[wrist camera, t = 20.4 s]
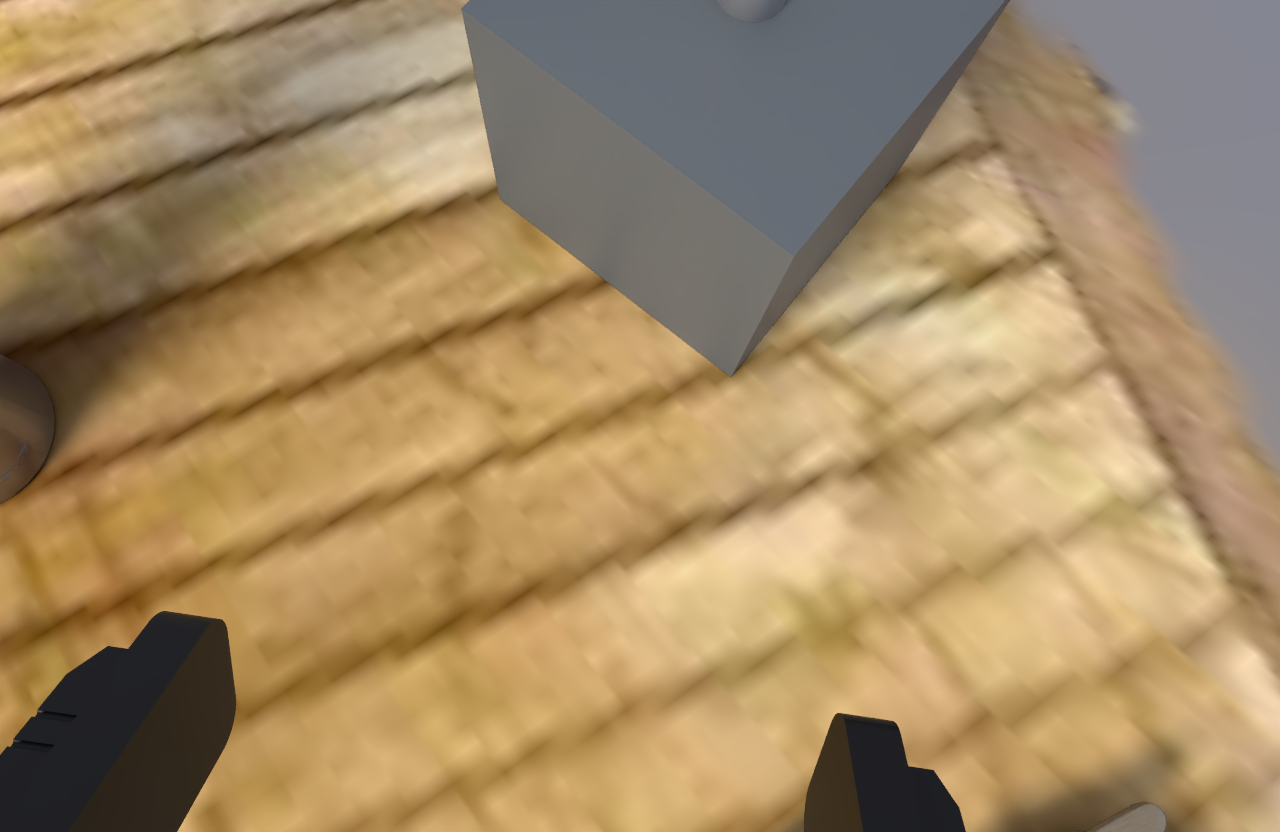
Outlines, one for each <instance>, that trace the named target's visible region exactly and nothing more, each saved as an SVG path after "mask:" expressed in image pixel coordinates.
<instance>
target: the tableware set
mask: <svg viewBox="0 0 1280 832" xmlns="http://www.w3.org/2000/svg"><path fill="white" fill-rule="evenodd" d="M1166 824H1167V822H1166V818H1165V814H1164V812H1163V811H1162V810H1161V809H1160V808H1159V807H1158V806H1157V805H1155V804H1151V803H1146V802H1141V803H1137V804H1133V805H1131V806H1129V807H1127V808H1126V809H1124V810H1122V811H1120V812H1119V813H1117V814H1115V815H1113V816H1112V817H1110V818H1108V819H1107V820H1105V821H1103V822H1102V823H1100V824H1099V825H1097V826H1095V827H1094V828H1092V829H1090V830H1089V831H1087V832H1164V830H1165V827H1166ZM1068 832H1086V831H1068Z"/></svg>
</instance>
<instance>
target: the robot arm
mask: <svg viewBox="0 0 1280 832" xmlns="http://www.w3.org/2000/svg"><path fill="white" fill-rule="evenodd" d="M54 424H55V418H54V411H53V404H52V402H51V399H50V397H49V394H48V392H47V389H46V388H45V387H44V385H43V384H42V382H41V381H40V380H39V378H38V377H37V376H36V375H35V374H33V373H32V372H31V371H30V370H29V369H27V368H26V367H25V366H23V365H21V364H19V363H17V362H15V361H13V360H11V359H9V358H7V357H5V356H3V355H1V354H0V503H2V502H4V501H5V500H7V499H9V498H11V497H12V496H14V495H15V494H16V493H17V492H18V491H20V490H21V489H22V488H23V487H24V486H26V485H27V484H28V483H29V481H30V480H31V479H32V478H33V477H34V475H35V474H36V473H37V472H38V471H39V469H40V467H41V466H42V464H43V462H44V460H45V458H46V457H47V455H48V452H49V449H50V446H51V443H52V440H53V435H54ZM235 711H236V695H235V687H234V679H233V671H232V663H231V655H230V647H229V639H228V631H227V627H226V624H225V622H224V621H223V620H221V619H215V618H208V617H201V616H195V615H188V614H181V613H174V612H168V611H162V612H160V613H158V614H156V615H155V616H154V617H153V618H152V619H151V620H150V621H149V622H148V624H147V625H146V626H145V628H144V629H143V630H142V632H141V633H140V634H139V636H138V637H137V638H136V639H135V641H134V642H133V643H132V645H131V646H130V647H129V649H125V648H118V647H111V646H107V647H106V648H104V649H103V650H101V651H100V652H99V653H97V654H96V655H94V656H93V657H91V658H90V659H88V660H87V661H85V662H84V663H82V664H81V665H79V666H78V667H76V668H75V669H73V670H72V671H71V672H69V673H68V674H66V675H65V677H64V678H63V679H62V680H61V682H60V683H59V684H58V685H57V686H56V688H55V689H54V690H53V691H52V693H51V694H50V695H49V696H48V697H47V699H46V700H45V701H44V702H43V704H42V705H41V706H40V707H39V708H38V712H37V715H36V716H35V717H31V718H30V719H29V721H28V722H27V723H26V724H25V725H24V727H23V728H22V729H21V730H20V732H19V733H18V734H17V735H16V736H15V738H14V741H13V744H12V746H11V747H8V746H7V747H6V749H5V750H4V751H3V752H2V754H1V755H0V832H177V831H178V829H179V828H180V826H181V824H182V822H183V821H184V819H185V817H186V815H187V813H188V812H189V810H190V808H191V806H192V805H193V803H194V801H195V799H196V797H197V796H198V794H199V792H200V790H201V789H202V787H203V785H204V783H205V782H206V780H207V778H208V776H209V774H210V773H211V771H212V769H213V767H214V766H215V764H216V762H217V760H218V759H219V757H220V755H221V753H222V751H223V749H224V748H225V745H226V743H227V741H228V738H229V736H230V733H231V730H232V726H233V722H234V717H235ZM804 832H966V831H965V827H964V823H963V820H962V816H961V813H960V809H959V807H958V805H957V804H956V802H955V801H954V800H953V798H952V797H951V795H950V794H949V792H948V791H947V789H946V788H945V786H944V785H943V783H942V782H941V780H940V779H939V778H938V776H937V775H936V773H935V772H934V770H929V769H923V768H916V767H909V766H908V764H907V759H906V755H905V751H904V746H903V742H902V738H901V734H900V730H899V728H898V726H897V724H896V723H895V722H894V721H889V720H882V719H876V718H869V717H862V716H855V715H849V714H842V713H837V714H836V715H835V716H834V718H833V720H832V722H831V725H830V728H829V730H828V733H827V736H826V739H825V742H824V745H823V747H822V750H821V753H820V756H819V759H818V762H817V764H816V767H815V770H814V773H813V776H812V778H811V781H810V784H809V787H808V791H807V797H806V803H805V813H804Z"/></svg>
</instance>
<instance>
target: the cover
mask: <svg viewBox="0 0 1280 832" xmlns="http://www.w3.org/2000/svg"><path fill="white" fill-rule="evenodd" d="M1009 1H1010V0H470V1H469V2H468V3H467V4H466V5H465V6H464V7H463V8H462V14H463V19H464V24H465V29H466V34H467V39H468V44H469V48H470V53H471V58H472V63H473V68H474V73H475V78H476V83H477V88H478V93H479V98H480V103H481V108H482V113H483V118H484V123H485V128H486V133H487V138H488V142H489V147H490V152H491V157H492V162H493V167H494V172H495V177H496V182H497V187H498V192H499V197H500V200H502V201H503V202H504V203H506V204H507V205H508V206H510V207H511V208H512V209H513V210H515V211H516V212H517V213H519V214H520V215H521V216H522V217H524V218H525V219H526V220H528V221H529V222H530V223H532V224H533V225H534V226H535V227H537V228H538V229H539V230H541V231H542V232H543V233H545V234H546V235H547V236H548V237H550V238H551V239H552V240H554V241H555V242H556V243H557V244H559V245H560V246H561V247H563V248H564V249H565V250H567V251H568V252H569V253H570V254H572V255H573V256H574V257H576V258H577V259H578V260H580V261H581V262H582V263H583V264H585V265H586V266H587V267H589V268H590V269H591V270H592V271H594V272H595V273H596V274H598V275H599V276H600V277H602V278H603V279H604V280H605V281H607V282H608V283H609V284H611V285H612V286H613V287H615V288H616V289H617V290H618V291H620V292H621V293H622V294H624V295H625V296H626V297H627V298H629V299H630V300H631V301H633V302H634V303H635V304H637V305H638V306H639V307H640V308H642V309H643V310H644V311H646V312H647V313H648V314H650V315H651V316H652V317H653V318H655V319H656V320H657V321H659V322H660V323H661V324H662V325H664V326H665V327H666V328H668V329H669V330H670V331H672V332H673V333H674V334H675V335H677V336H678V337H679V338H681V339H682V340H683V341H685V342H686V343H687V344H688V345H690V346H691V347H692V348H694V349H695V350H696V351H697V352H699V353H700V354H701V355H703V356H704V357H705V358H707V359H708V360H709V361H710V362H712V363H713V364H714V365H716V366H717V367H718V368H720V369H721V370H722V371H723V372H725V373H726V374H727V375H729V376H730V377H731V376H732V375H733V374H734V373H735V371H736V370H737V369H738V368H739V367H740V365H741V364H742V363H743V362H744V360H745V359H746V358H747V357H748V355H749V354H750V353H751V352H752V351H753V349H754V348H755V347H756V346H757V344H758V343H759V342H760V341H761V339H762V338H763V337H764V336H765V335H766V333H767V332H768V331H769V330H770V328H771V327H772V326H773V325H774V323H775V322H776V321H777V320H778V319H779V317H780V316H781V315H782V314H783V312H784V311H785V310H786V309H787V307H788V306H789V305H790V304H791V303H792V301H793V300H794V299H795V298H796V296H797V295H798V294H799V293H800V291H801V290H802V289H803V288H804V287H805V285H806V284H807V283H808V282H809V280H810V279H811V278H812V277H813V275H814V274H815V273H816V272H817V271H818V269H819V268H820V267H821V266H822V264H823V263H824V262H825V261H826V259H827V258H828V257H829V256H830V255H831V253H832V252H833V251H834V250H835V248H836V247H837V246H838V245H839V243H840V242H841V241H842V240H843V239H844V237H845V236H846V235H847V234H848V232H849V231H850V230H851V229H852V227H853V226H854V225H855V224H856V223H857V221H858V220H859V219H860V218H861V216H862V215H863V214H864V213H865V211H866V210H867V209H868V208H869V206H870V205H871V204H872V203H873V202H874V200H875V199H876V198H877V197H878V195H879V194H880V193H881V192H882V190H883V189H884V188H885V187H886V186H887V184H888V183H889V182H890V181H891V179H892V178H893V177H894V176H895V174H896V173H897V172H898V171H899V170H900V168H901V167H902V165H903V164H904V162H905V161H906V159H907V157H908V156H909V154H910V153H911V151H912V150H913V148H914V147H915V145H916V144H917V142H918V141H919V139H920V137H921V136H922V134H923V133H924V131H925V130H926V128H927V127H928V125H929V124H930V122H931V121H932V119H933V117H934V116H935V114H936V113H937V111H938V110H939V108H940V107H941V105H942V104H943V102H944V101H945V99H946V97H947V96H948V94H949V93H950V91H951V90H952V88H953V87H954V85H955V84H956V82H957V81H958V79H959V78H960V76H961V74H962V73H963V71H964V70H965V68H966V67H967V65H968V64H969V62H970V61H971V59H972V58H973V56H974V54H975V53H976V51H977V50H978V48H979V47H980V45H981V44H982V42H983V41H984V39H985V38H986V36H987V34H988V33H989V31H990V30H991V28H992V27H993V25H994V24H995V22H996V21H997V19H998V18H999V16H1000V14H1001V13H1002V11H1003V10H1004V8H1005V7H1006V5H1007V4H1008V2H1009Z"/></svg>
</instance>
